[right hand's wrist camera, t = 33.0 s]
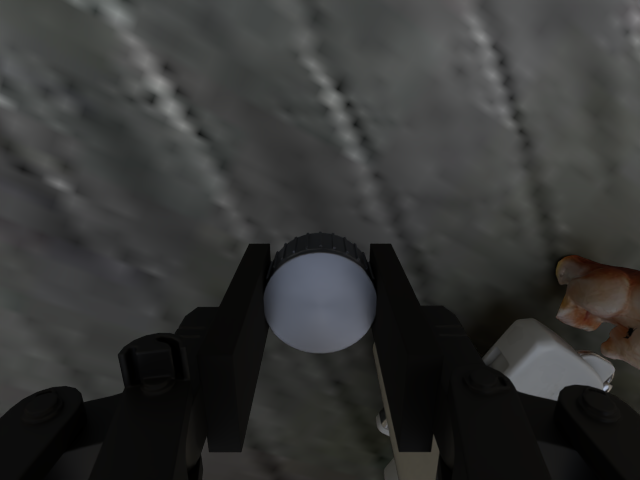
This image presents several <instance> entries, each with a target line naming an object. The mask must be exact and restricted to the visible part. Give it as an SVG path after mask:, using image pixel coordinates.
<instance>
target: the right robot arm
mask: <svg viewBox="0 0 640 480" xmlns="http://www.w3.org/2000/svg"><path fill="white" fill-rule="evenodd" d="M270 263H271V257H270V244H249V245H248V248H247V250H246V252H245V254H244V256H243V258H242V260H241V262H240V264H239V266H238V269H237V271H236V273H235V275H234V277H233V279H232V281H231V283H230V285H229V287H228V290H227V292H226V294H225V296H224V298H223V300H222V302H221V304H220V306H219V307H197V308H196V309H194V310H193V311H192V312H190V313H189V314H188V315H186V316H185V318H184V319H183V321H182V323H181V324H180V326H179V329H177V331H176V332H175V334H172V333H156V334H151V335H146V336H143V337H141V338H138V339H136V340H134V341H132V342H131V343H129V344H128V345H126V346H125V347H124V348H123V349H122V350H121V351H120V353H119V354H118V358H119V363H120V368H121V372H122V377H123V381H124V386H125V388H124V391H123V393H120V394H117V395H113V396H110V397H105V398H101V399H96V400H92V401H87V402H83V398H82V394H81V393H80V392H79V391H78V390H77V389H76V388H72V387H68V386H61V387H52V388H49V389H45V390H42V391H39V392H36V393H34V394H32V395H30V396H28V397H26V398H24V399H23V400H21V401H20V402H19V403H17V404H16V405H15V406H13V407H12V408H11V409H10V410H9V411H7V412H6V413H5V414H4V415H3V416H2V417H1V418H0V480H202V475H203V465H202V458H201V452H202V449H203V446H204V443H205V440H206V437H207V440H208V448H209V452H242V447H243V443H244V438H245V433H246V429H247V424H248V420H249V415H250V411H251V406H252V402H253V397H254V393H255V388H256V383H257V379H258V374H259V370H260V365H261V361H262V356H263V352H264V347H265V343H266V338H267V334H268V329H269V325H268V323H267V321H266V319H265V314H264V296H263V293H264V289H265V285H266V282H267V280H266V276H267V273H268V270H269V266H270ZM370 265H371V269H372V272H373V275H374V279H375V280H373V281H374V285H375V288H376V292H377V301H376V317H375V319H374V322H373V324H372V326H371V328H372V332H373V337H374V341H375V346H376V351H377V355H378V360H379V364H380V369H381V373H382V378H383V382H384V387H385V391H386V396H387V401H388V405H389V410H390V414H391V419H392V423H393V428H394V432H395V437H396V441H397V446H398V451H399V452H431V449H432V442H433V434H434V437H435V440H436V443H437V446H438V449H439V458H438V465H437V472H436V479H435V480H640V415H639V414H637V413H636V412H635V411H634V410H633V409H632V408H631V407H630V406H629V405H627V404H626V403H625V402H623V401H622V400H621V399H619V398H618V397H616V396H614V395H612V394H610V393H608V392H606V391H604V390H601V389H598V388H595V387H591V386H587V385H576V384H575V385H570V386H565V387H564V388H563V389H562V390H561V391H560V392H559V396H558V399H557V401H556V400H551V399H547V398H542V397H538V396H533V395H529V394H526V393H522V392H519V391H517V390H516V388H515V386H514V385H513V383H512V382H511V380H510V379H509V378H508V377H507V376H505V375H504V374H503V373H501V372H500V371H498V370H496V369H493V368H491V367H489V366H486V364H485V363H484V361H483V360H482V358H481V356H480V355H479V353H478V351H477V350H476V348H475V347H474V345H473V343H472V342H471V340H470V338H469V337H467V334H466V332H465V330H464V329H463V328H462V325H461V324H460V322H459V321H458V319H457V317H456V316H455V315H454V314H453V313H452V312H450V311H449V310H448V309H446V308H445V307H444V306H420V304H419V302H418V299H417V297H416V295H415V293H414V291H413V289H412V287H411V285H410V283H409V281H408V278H407V276H406V274H405V272H404V270H403V268H402V266H401V264H400V262H399V260H398V257H397V255H396V253H395V251H394V249H393V247H392V245H391V244H370Z"/></svg>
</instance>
